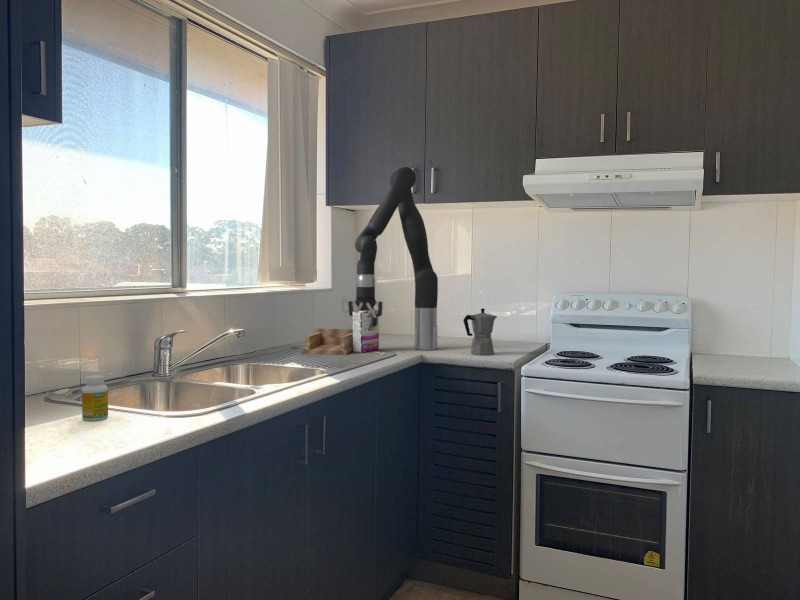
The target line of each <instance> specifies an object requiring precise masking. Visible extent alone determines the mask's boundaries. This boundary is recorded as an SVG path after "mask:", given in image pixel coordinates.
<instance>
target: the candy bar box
mask: <svg viewBox="0 0 800 600" xmlns="http://www.w3.org/2000/svg"><path fill="white" fill-rule="evenodd" d="M375 312H376V314H378V309H375ZM352 314H353V316H352V329H353V351H354V353H361V352H362V353H365V352H364V351H368V352H373V351H379V350H380V349H379V348H380V347H379V346H380V341H379V334H380V333H379V317H378V318H377V326H376V327H373V318H374V317H373V315H372V313H371V312H370V311H366V310H365V311H356V310H353V312H352ZM353 351H352V352H353Z"/></svg>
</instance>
